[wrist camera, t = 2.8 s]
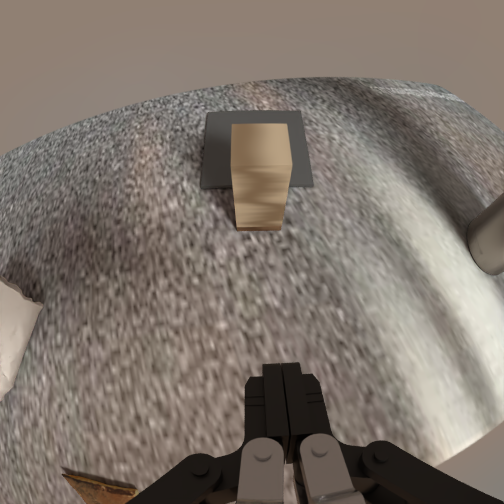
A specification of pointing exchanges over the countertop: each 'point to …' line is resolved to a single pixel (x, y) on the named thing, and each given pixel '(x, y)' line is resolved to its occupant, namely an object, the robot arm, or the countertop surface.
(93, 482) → the shard
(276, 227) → the maple block
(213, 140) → the mat
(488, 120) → the countertop surface
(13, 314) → the hollow grey tube
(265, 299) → the countertop surface
